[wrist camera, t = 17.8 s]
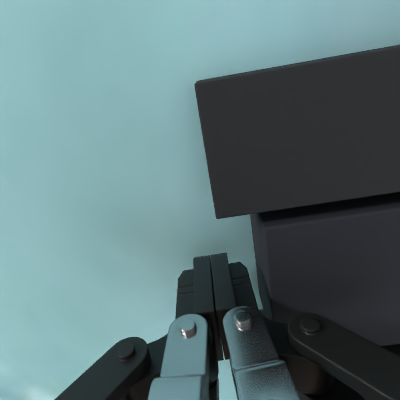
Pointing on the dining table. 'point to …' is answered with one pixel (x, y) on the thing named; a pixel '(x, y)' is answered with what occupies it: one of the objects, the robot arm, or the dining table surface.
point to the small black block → (333, 264)
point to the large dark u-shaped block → (303, 133)
